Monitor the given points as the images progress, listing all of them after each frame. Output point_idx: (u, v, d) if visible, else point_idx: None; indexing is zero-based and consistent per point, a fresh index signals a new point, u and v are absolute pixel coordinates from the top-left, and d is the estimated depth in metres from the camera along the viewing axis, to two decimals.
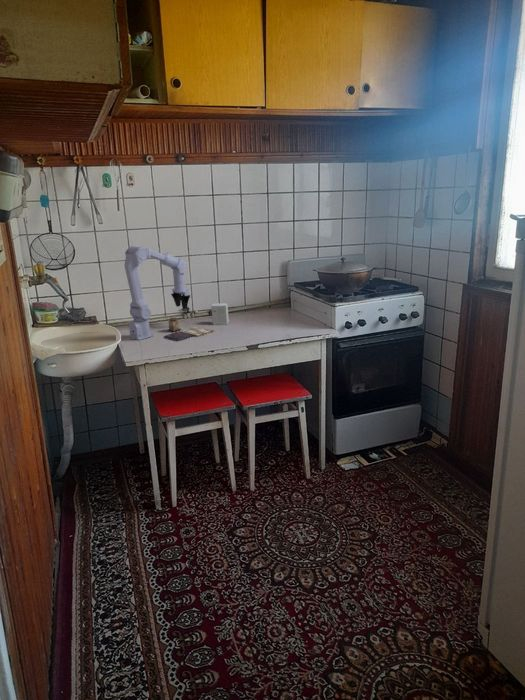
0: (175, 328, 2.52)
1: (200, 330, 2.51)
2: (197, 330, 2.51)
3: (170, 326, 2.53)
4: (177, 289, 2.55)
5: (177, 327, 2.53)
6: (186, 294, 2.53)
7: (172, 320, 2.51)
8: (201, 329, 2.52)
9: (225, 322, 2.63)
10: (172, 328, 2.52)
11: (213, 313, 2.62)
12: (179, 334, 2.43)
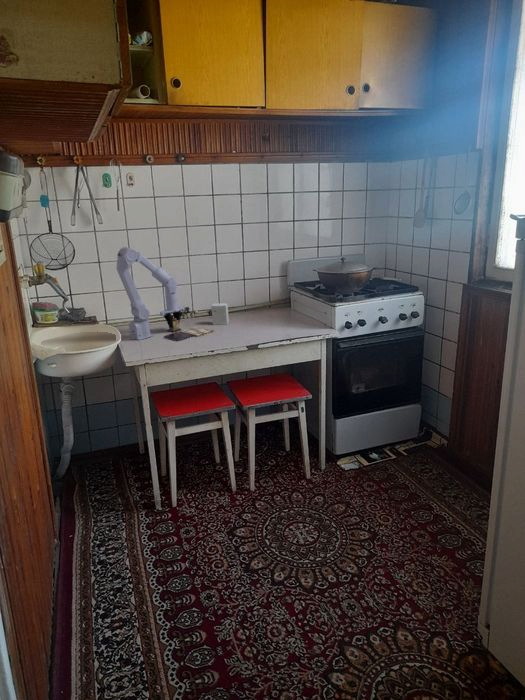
0: (175, 328, 2.52)
1: (200, 330, 2.51)
2: (197, 330, 2.51)
3: None
4: None
5: (177, 327, 2.53)
6: (161, 314, 2.46)
7: None
8: (201, 329, 2.52)
9: (225, 322, 2.63)
10: (172, 328, 2.52)
11: (213, 313, 2.62)
12: (179, 334, 2.43)
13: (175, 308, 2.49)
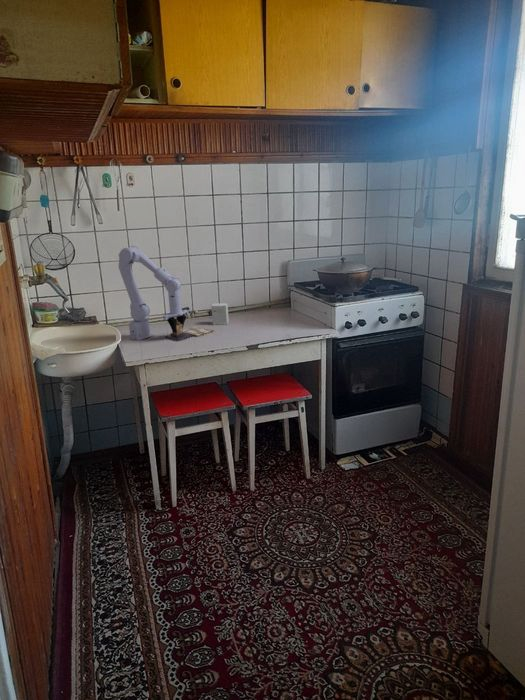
0: (179, 332, 2.40)
1: (200, 330, 2.51)
2: (197, 330, 2.51)
3: None
4: None
5: (181, 331, 2.41)
6: (164, 318, 2.34)
7: None
8: (201, 329, 2.52)
9: (225, 322, 2.63)
10: None
11: (213, 313, 2.62)
12: None
13: (179, 312, 2.37)
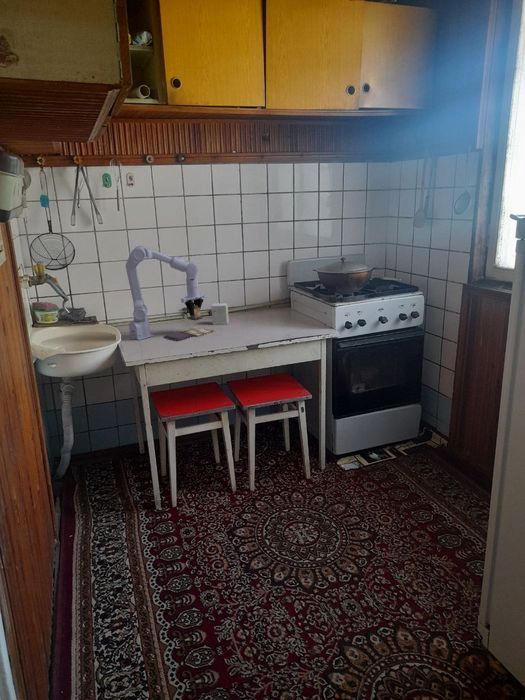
0: (196, 316, 2.46)
1: (200, 330, 2.51)
2: (197, 330, 2.51)
3: None
4: None
5: (198, 315, 2.47)
6: (182, 301, 2.40)
7: None
8: (201, 329, 2.52)
9: (225, 322, 2.63)
10: (193, 316, 2.46)
11: (213, 313, 2.62)
12: (179, 334, 2.43)
13: (196, 295, 2.42)
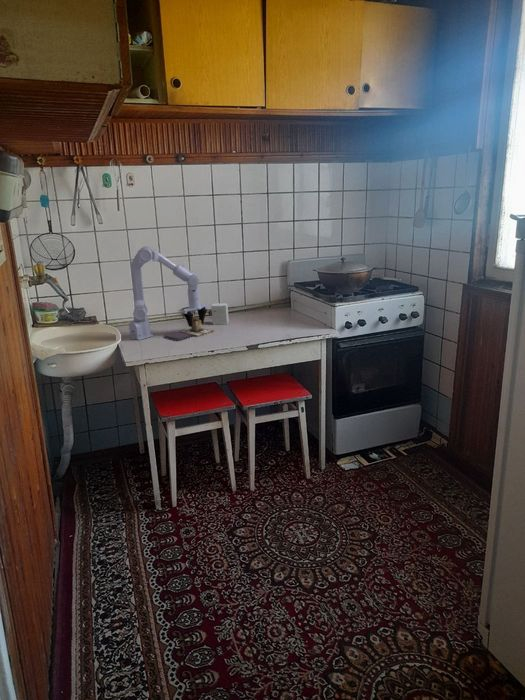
0: (198, 328, 2.48)
1: None
2: None
3: (193, 326, 2.48)
4: None
5: (200, 327, 2.49)
6: (183, 312, 2.42)
7: (195, 320, 2.47)
8: None
9: (225, 322, 2.63)
10: (195, 328, 2.48)
11: (213, 313, 2.62)
12: (179, 334, 2.43)
13: (198, 306, 2.44)
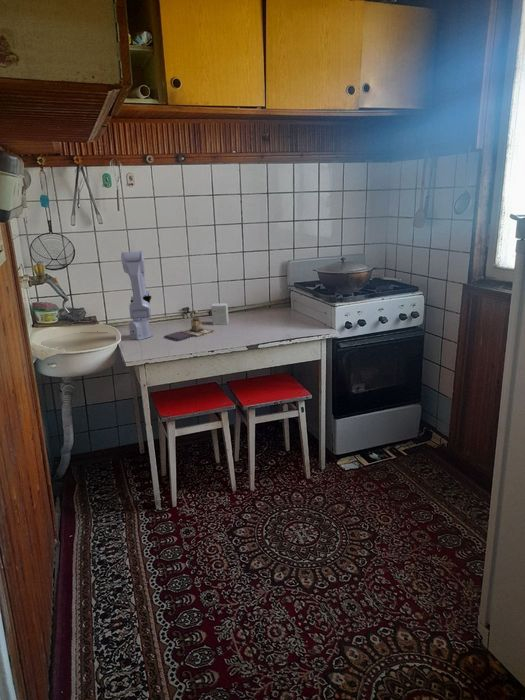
0: (198, 328, 2.48)
1: None
2: None
3: (193, 326, 2.48)
4: None
5: (200, 327, 2.49)
6: (132, 299, 2.49)
7: (195, 320, 2.47)
8: None
9: (225, 322, 2.63)
10: (195, 328, 2.48)
11: (213, 313, 2.62)
12: (179, 334, 2.43)
13: (144, 292, 2.54)
